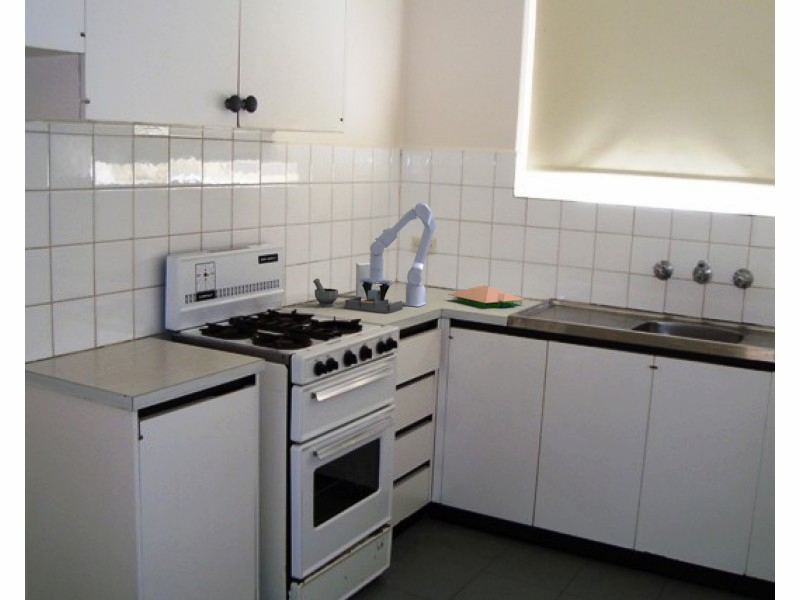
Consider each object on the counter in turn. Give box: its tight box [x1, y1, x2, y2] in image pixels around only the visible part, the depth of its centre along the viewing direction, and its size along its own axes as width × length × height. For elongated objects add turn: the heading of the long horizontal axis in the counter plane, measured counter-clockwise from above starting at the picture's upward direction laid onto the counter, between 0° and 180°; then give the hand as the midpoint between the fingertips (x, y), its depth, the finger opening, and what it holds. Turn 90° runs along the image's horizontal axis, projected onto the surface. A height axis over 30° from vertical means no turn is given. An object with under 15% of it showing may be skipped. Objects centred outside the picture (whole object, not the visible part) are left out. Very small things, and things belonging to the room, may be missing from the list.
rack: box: [344, 296, 404, 314], centre depth 351 cm, size 12×21×4 cm, turn 64°
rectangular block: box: [368, 288, 381, 302], centre depth 364 cm, size 7×4×6 cm, turn 154°
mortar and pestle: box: [313, 278, 339, 308], centre depth 353 cm, size 11×9×12 cm
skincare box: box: [355, 262, 377, 299], centre depth 380 cm, size 8×7×16 cm
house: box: [447, 285, 526, 310], centre depth 377 cm, size 23×33×8 cm
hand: (375, 300), depth 364 cm, fingers open, 6 cm apart
